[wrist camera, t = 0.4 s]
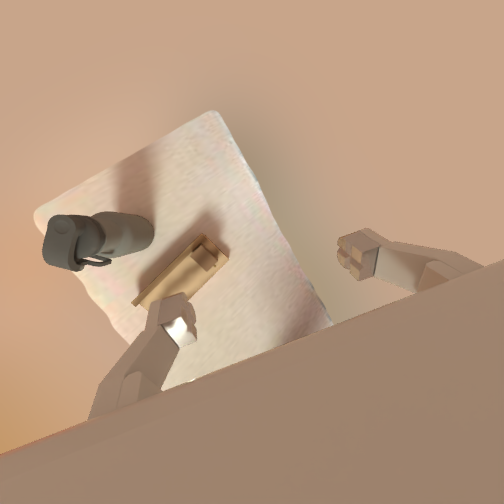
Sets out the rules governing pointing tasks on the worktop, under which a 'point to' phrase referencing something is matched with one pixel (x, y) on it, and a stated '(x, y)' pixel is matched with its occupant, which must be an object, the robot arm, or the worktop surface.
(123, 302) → the worktop surface
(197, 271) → the board
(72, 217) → the water bottle
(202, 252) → the brown block
